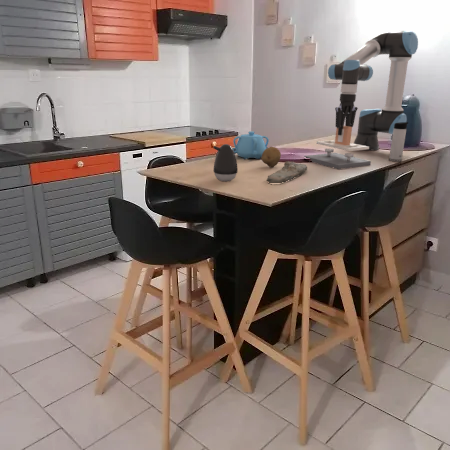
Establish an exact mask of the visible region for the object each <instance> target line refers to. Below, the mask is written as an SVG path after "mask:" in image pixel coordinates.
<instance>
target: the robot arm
mask: <svg viewBox="0 0 450 450" xmlns="http://www.w3.org/2000/svg"><path fill="white" fill-rule="evenodd" d="M418 48H419V39H418V35H417V34H416V32H415V31H413V30H396V31H384V32H382V33H381V32H380V33H378V34H377V35H375V36H373V37H372V38H370V39H368V41H366V42H365V44H364V45H363V46H362V47H361V48H359V49H357V50H356V51H355V52H354V53H352V54H351V55H349V56H348V57H346V58H345V59H344V60H343V61H342V62H339V63H338V64H337V63H335V64H331V65H330V66H329V67H328V70H327V76H328V77H329V79H330V80H335V81H341V85H340V95H339V102H340V103H339V106H338V107H334V108H335V128H338V142H343V135H344V129H343V126H349V127H352V128H353V127H354V124H355V121H356V120H355V119H356V114H357V111H358V109H359V108H358V107H357V106H355V102H356V99H357V94H356V93H357V92H358V91H357V90H358V82H360V81H361V82H365V81H366V82H367V81H369V80H371V79H372V78H373V74H374V69H373V67H372V66H371V65H368V64H365V63H367V62H368V61H369V60H370V59H373V58H375V57H378V56H380V55H388V59H389V60H390V67H389V68H390V69H389V76H388V81H387V82H388V83H387V90H386V91H387V92H386V97H385V98H386V99H385V104H384V105H385V106H384V107H382V108H371V109H362V110H361V111H360V112H359V116H358V123H357V124H358V125H357V131H356V132H357V134H356V136H355V139H354V141H353V142H352V143H353V144H358V145H363V146H368V147H369V149H366V150H365V151H377V150H379V148H380V144H379V139H378V138H379V137H378V133H382V134H390V135H393V130H394V124H395V123H400V122H407V120H408V119H407V114H405V113H404V108H403V107H402V103H403V98H404V97H403V96H404V91H405V84H406V78H407V70H408V63H409V61H410V60H411V59H412V56H413V55H414V54H416V53H417V50H418ZM344 124H345V125H344Z"/></svg>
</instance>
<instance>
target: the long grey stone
mask: <svg viewBox="0 0 450 450" xmlns="http://www.w3.org/2000/svg"><path fill="white" fill-rule="evenodd" d="M307 169H308V165H307V164H305V163H299V162H297V163H296V162H294V161H293V160H292V161H288V160H287V161H285V162H284V163H283V166H282V167H281V169H280V170H277V171H275V172H273V173H271V174H269V175H268V176H267V178H266V182H269V183H282V182H284V183H286V181H287V182H289V181H288V180H290V181H291V179H292V180H294V179H295V178H294V177H298V176H299V177H300V176H301V175H303V174H304V173H305V172H306V171H307ZM302 173H303V174H302ZM293 178H294V179H293ZM269 183H268V184H269ZM282 184H283V183H282Z"/></svg>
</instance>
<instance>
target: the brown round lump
mask: <svg viewBox="0 0 450 450" xmlns="http://www.w3.org/2000/svg"><path fill="white" fill-rule="evenodd" d="M267 147H268V146H267ZM281 155H282V154H281V151H280V150H279V149H278V148H277V147H275V146H269V147H268V148H267V149H265V150H264V152H263V154H262V157H261V161H262V163H264V164H265V165H267V166H268V167H269V168H274V167H276V166H277V165H278V164H279V162H280V160H281Z"/></svg>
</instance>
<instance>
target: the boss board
mask: <svg viewBox="0 0 450 450" xmlns="http://www.w3.org/2000/svg"><path fill="white" fill-rule="evenodd" d="M334 149H335V148H334ZM334 149H333V148H324V152H325V153H319V154H317V153H316V154H310V155H304V156H303V158H304V157H306V158H310V159H311V161H312V162H311V163H315V164H317V163H318V165H321V164H322V166H325V165H326V166H325V167H328V166H330V168H332V167H334V168H333V169H335V168H337V169H336V170H342V169H341V168H345V169H349V168H350V167H352V168H356V167H357V168H358V167H364V166H371V161H372V160H368V159H364V158H359V157H356V156H355V157H354V153H349V152H346V153H344V154H343V153H338V152H334Z"/></svg>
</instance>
